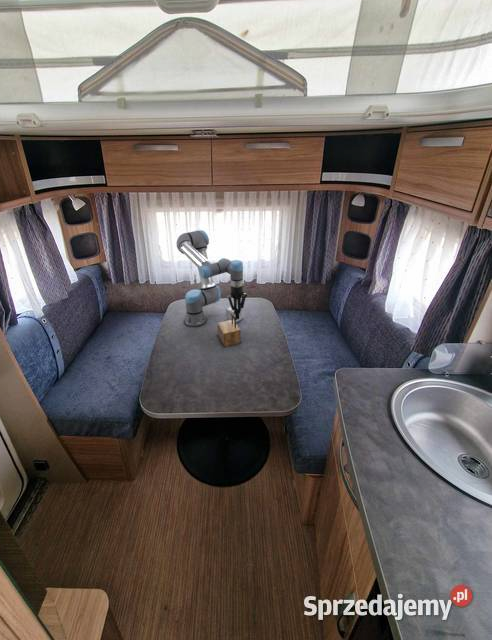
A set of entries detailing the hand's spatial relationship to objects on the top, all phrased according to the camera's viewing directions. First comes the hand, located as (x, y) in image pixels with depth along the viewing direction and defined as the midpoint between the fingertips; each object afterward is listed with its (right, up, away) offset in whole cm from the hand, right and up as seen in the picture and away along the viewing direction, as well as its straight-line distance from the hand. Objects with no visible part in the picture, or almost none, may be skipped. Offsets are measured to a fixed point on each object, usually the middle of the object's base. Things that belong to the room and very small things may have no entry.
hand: (237, 318), depth 183 cm
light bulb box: (-1, -5, +25) cm, 26 cm away
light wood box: (-5, -15, +4) cm, 16 cm away
